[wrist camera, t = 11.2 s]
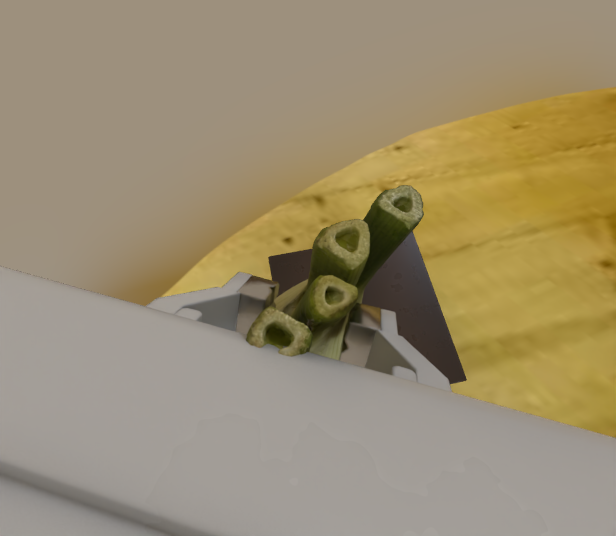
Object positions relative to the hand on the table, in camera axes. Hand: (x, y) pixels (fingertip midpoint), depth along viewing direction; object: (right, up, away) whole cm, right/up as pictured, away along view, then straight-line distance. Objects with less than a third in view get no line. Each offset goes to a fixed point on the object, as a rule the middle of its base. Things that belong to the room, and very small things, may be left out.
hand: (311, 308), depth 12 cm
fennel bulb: (-1, -3, +6) cm, 7 cm away
